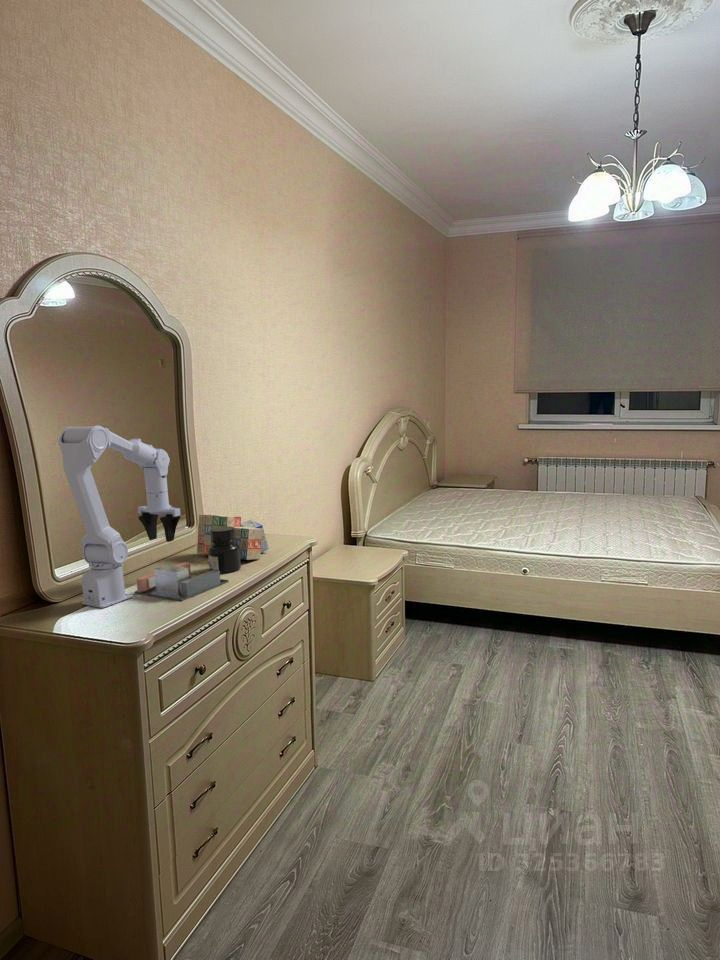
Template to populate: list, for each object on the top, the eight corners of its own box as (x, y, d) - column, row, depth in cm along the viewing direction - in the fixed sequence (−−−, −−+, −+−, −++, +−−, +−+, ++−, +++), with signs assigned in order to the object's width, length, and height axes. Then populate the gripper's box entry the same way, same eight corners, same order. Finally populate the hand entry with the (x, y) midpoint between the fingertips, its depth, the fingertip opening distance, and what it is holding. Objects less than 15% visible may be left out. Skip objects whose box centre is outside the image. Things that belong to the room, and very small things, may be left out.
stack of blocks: (261, 559, 201) (263, 518, 201) (246, 560, 196) (249, 518, 196) (210, 552, 213) (213, 513, 213) (195, 553, 208) (198, 513, 208)
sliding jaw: (143, 591, 171) (142, 579, 171) (137, 590, 172) (136, 578, 172) (191, 574, 186) (190, 562, 185) (185, 573, 187) (184, 562, 186)
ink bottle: (211, 566, 196) (207, 526, 194) (241, 564, 197) (238, 524, 195) (208, 575, 186) (205, 533, 184) (240, 572, 187) (237, 531, 186)
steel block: (178, 595, 168) (176, 572, 167) (156, 591, 172) (154, 569, 171) (190, 590, 171) (188, 568, 170) (167, 587, 175) (165, 565, 174)
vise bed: (181, 601, 165) (180, 585, 164) (135, 593, 173) (133, 578, 172) (228, 582, 179) (227, 567, 178) (183, 575, 187) (181, 561, 187)
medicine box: (245, 548, 213) (238, 524, 209) (257, 542, 215) (250, 518, 212) (257, 555, 206) (250, 530, 203) (269, 549, 209) (262, 524, 206)
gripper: (186, 490, 184) (191, 538, 186) (149, 488, 191) (154, 535, 193) (167, 494, 178) (172, 544, 180) (130, 492, 185) (134, 540, 187)
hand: (161, 540), depth 186 cm, fingers open, 6 cm apart
